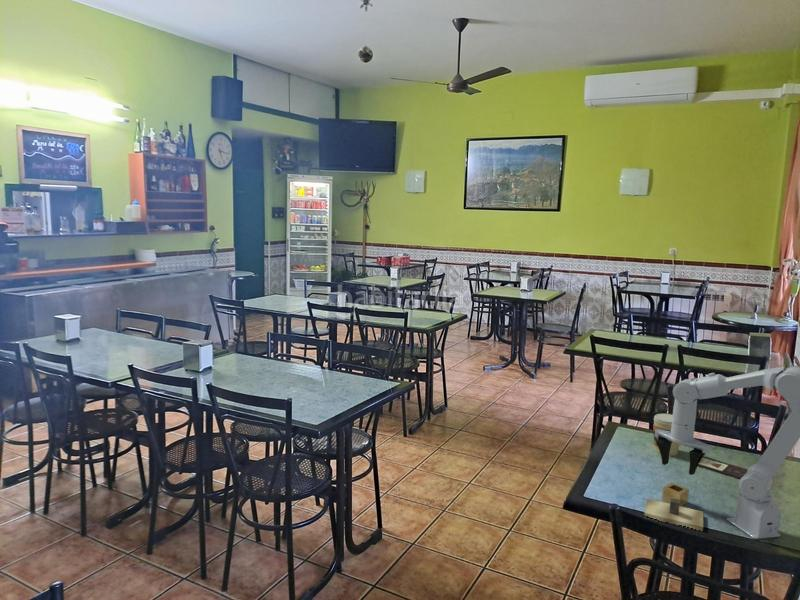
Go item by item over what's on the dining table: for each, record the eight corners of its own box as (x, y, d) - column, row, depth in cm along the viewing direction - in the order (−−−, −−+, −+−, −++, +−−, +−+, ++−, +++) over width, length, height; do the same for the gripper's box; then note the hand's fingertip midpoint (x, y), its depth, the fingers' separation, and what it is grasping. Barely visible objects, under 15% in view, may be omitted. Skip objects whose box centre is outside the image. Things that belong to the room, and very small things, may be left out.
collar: (687, 502, 164) (689, 489, 163) (679, 507, 161) (680, 494, 160) (670, 495, 168) (671, 482, 167) (661, 500, 165) (663, 487, 164)
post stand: (702, 515, 157) (704, 500, 156) (702, 531, 149) (704, 515, 148) (646, 502, 163) (648, 487, 163) (644, 517, 155) (645, 501, 155)
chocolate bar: (752, 481, 178) (690, 462, 190) (752, 484, 178) (690, 465, 190) (760, 473, 184) (700, 455, 196) (760, 476, 184) (699, 458, 197)
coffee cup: (645, 446, 204) (648, 413, 202) (668, 445, 206) (672, 412, 204) (661, 457, 195) (665, 423, 193) (686, 456, 197) (690, 422, 195)
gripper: (717, 427, 158) (711, 474, 160) (665, 412, 169) (660, 456, 171) (705, 433, 154) (699, 481, 156) (652, 416, 165) (648, 462, 167)
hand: (678, 468), depth 163 cm, fingers open, 7 cm apart
